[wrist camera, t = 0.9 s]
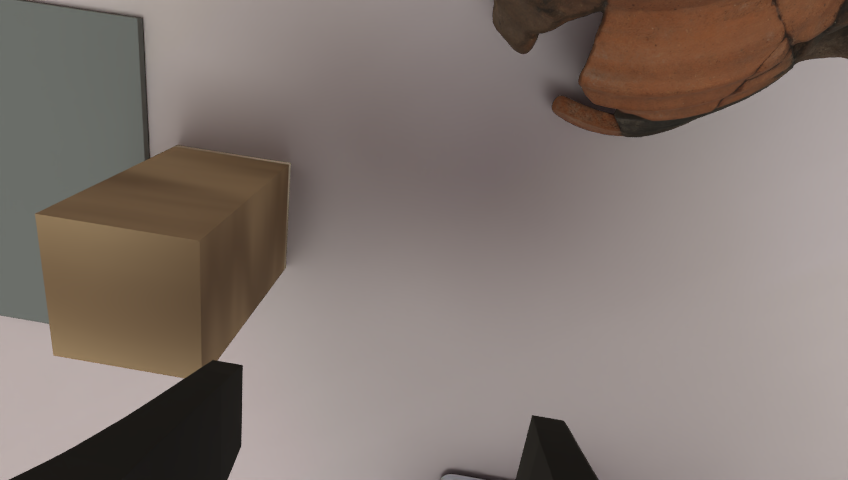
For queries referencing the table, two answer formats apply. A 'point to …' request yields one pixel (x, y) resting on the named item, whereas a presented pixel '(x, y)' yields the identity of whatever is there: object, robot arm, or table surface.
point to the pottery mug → (677, 53)
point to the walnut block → (164, 259)
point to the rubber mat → (61, 125)
